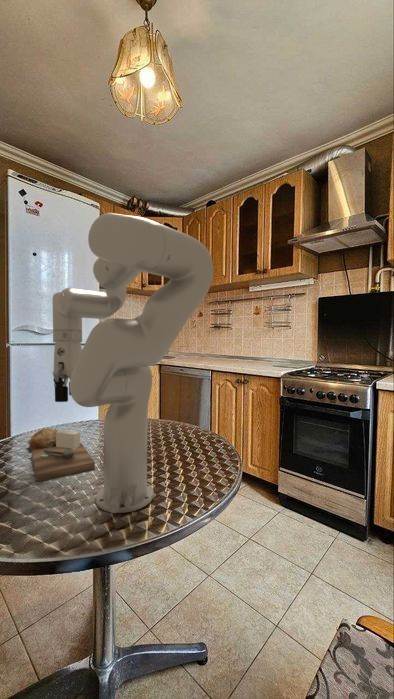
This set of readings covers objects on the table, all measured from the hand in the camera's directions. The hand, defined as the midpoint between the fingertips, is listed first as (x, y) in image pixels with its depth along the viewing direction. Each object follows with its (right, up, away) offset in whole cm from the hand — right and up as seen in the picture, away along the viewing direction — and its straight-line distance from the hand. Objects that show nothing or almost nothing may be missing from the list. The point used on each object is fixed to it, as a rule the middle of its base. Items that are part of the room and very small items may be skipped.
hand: (68, 398), depth 84 cm
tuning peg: (-3, -17, +2) cm, 17 cm away
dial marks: (-5, -17, +4) cm, 18 cm away
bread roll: (-13, -19, +14) cm, 27 cm away
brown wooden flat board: (-3, -19, +2) cm, 19 cm away
